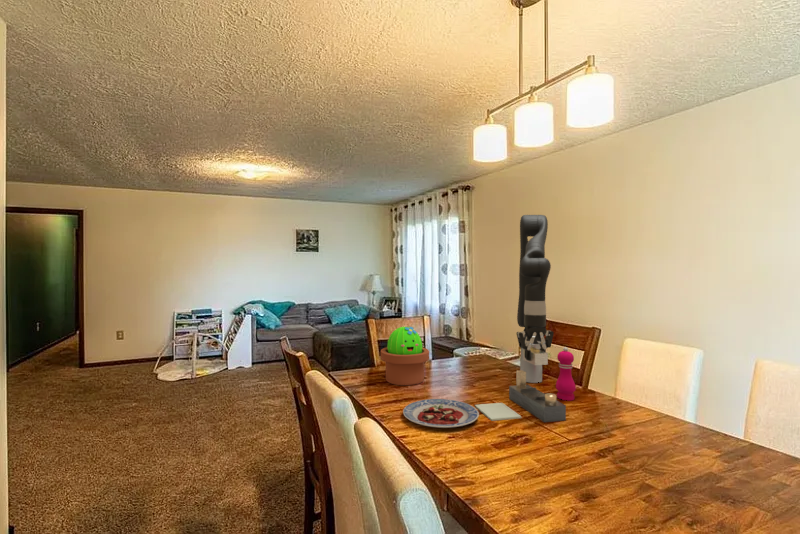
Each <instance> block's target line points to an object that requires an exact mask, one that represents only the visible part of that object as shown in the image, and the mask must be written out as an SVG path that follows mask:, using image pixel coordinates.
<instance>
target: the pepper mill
mask: <svg viewBox="0 0 800 534" xmlns="http://www.w3.org/2000/svg"><path fill="white" fill-rule="evenodd" d="M556 359H557V361H558V362H559V363H558V367H559V375H558V378H557V380H556V382H555V389H556V391H557V392H556V398H557V399H559V400H561V399H562V401H566V400H567V401H568V402H569V401H570V402H571V401H574V400H575V393H574V392H575V391H577V390H576V389H577V387H576V383H575V381H574V379H573V376H572V369H573V366H574V365H573V362H574V361H575V360H574V359H575V357H574V354H573V353H572V352H570V351H569V348H568V347H566V346H564V347H563V348H562V350H561V351H559V352H558V354H557V358H556Z"/></svg>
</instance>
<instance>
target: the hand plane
mask: <svg viewBox="0 0 800 534" xmlns="http://www.w3.org/2000/svg"><path fill="white" fill-rule="evenodd" d="M515 378H516V380H515V381H516V385H509V387H508V388H509V389H508V391H509V392H508V393H509V394H508V396H509V400H510V401H512V402H513V403H515V404H516V405H518V406H520V407H521V409H524V410H525V411H527V412H528V413H529V414H531V415H532V416H534V417H536V418H537V419H539V421H541V422H543V423H551V422H560V421H561V422H563V421H567V417H566V416H567V411H566V409H567V405H566V404H564V403H562V402H560V401H559V400H557V394H555V393H549V392H547V393H544V392H542V391H540V390H539V389H537V388H536V387H533V386H531V385H530V384H527V382H526V372H525V371H523V370H520V369H519V370H516V377H515Z"/></svg>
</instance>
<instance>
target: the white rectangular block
mask: <svg viewBox="0 0 800 534" xmlns="http://www.w3.org/2000/svg"><path fill="white" fill-rule="evenodd" d="M530 351H531V360H530V361H528V360H526V358H525V350H524V349H523V360H525V361H527V362H529V363H531V364H533V365H542V366H544V365H545V366H546V365H549V363H548V362H549V361H548V360H549V357H548V356H549V355H548V354H549V353H548V352H547V351H546V352H543V351H541V350H539V349H536V348H534V347H531V348H530Z"/></svg>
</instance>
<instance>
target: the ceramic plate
mask: <svg viewBox="0 0 800 534" xmlns="http://www.w3.org/2000/svg"><path fill="white" fill-rule="evenodd" d="M402 413H403V416H404V417H405V418H406V419H408V420H409V421H410V422H412V423H415V424H417V425H419V426H420V425H421V426H424V427H431V428H441V429H442V428H443V429H444V428H446V429H447V428H457V427H463V426H467V425H469V424H472V423H474V422H475V421H476V420H478V418H479V415H480V411H479V410H478V409H477V408H476V407H475V406H473V405H471V404H469V403H466V402H463V401H459V400H454V399H446V398H430V399H429V398H427V399H421V400H417V401H414V402H411V403H409V404H408V405H406V406H405V407H404V408H403V409H402Z"/></svg>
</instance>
